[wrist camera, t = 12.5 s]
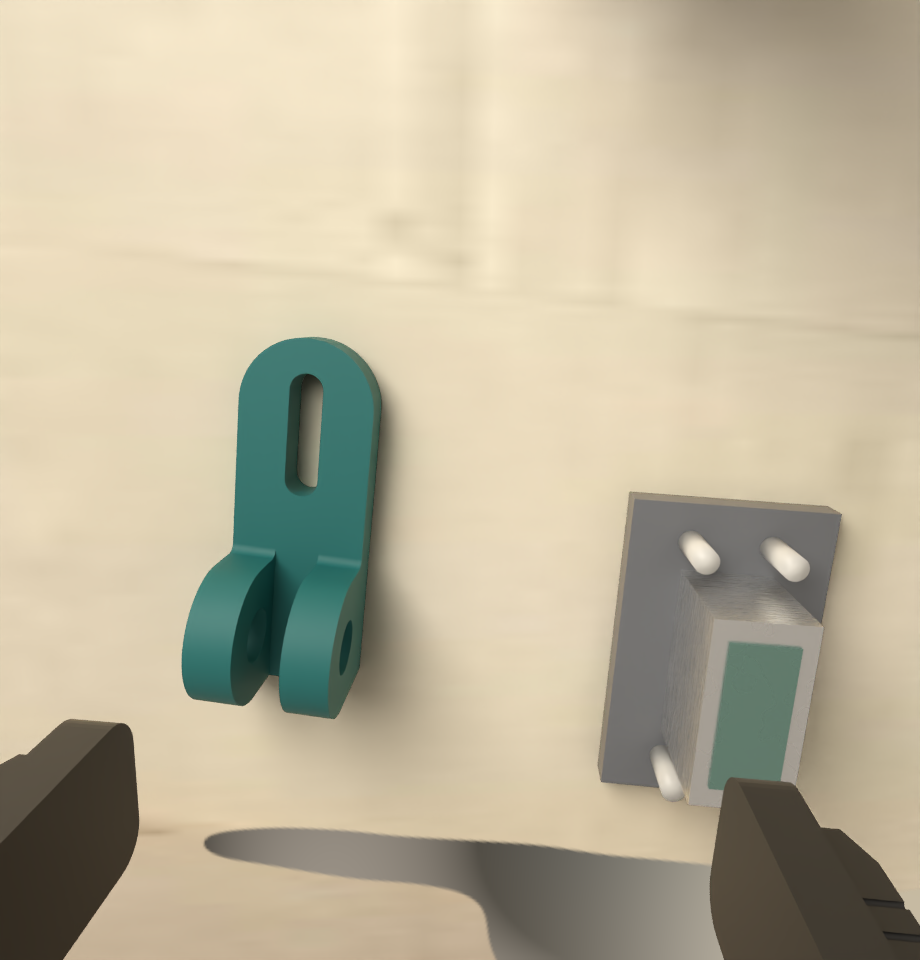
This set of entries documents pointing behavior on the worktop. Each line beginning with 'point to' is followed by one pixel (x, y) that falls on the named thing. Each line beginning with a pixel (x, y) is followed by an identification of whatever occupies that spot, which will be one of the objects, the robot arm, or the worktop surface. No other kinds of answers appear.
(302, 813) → the worktop surface
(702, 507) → the grey wall plate
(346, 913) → the worktop surface
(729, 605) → the block
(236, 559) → the bracket
